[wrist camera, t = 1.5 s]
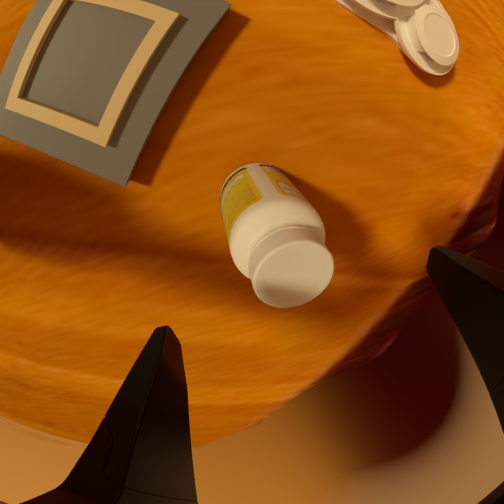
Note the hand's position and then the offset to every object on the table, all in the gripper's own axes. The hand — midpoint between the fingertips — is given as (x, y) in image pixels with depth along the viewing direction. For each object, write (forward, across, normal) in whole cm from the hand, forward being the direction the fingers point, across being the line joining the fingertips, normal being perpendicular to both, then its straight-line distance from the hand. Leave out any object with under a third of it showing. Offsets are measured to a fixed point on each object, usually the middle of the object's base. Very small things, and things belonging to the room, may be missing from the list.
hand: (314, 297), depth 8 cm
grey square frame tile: (+13, +9, -12) cm, 20 cm away
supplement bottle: (+14, 0, +2) cm, 14 cm away
